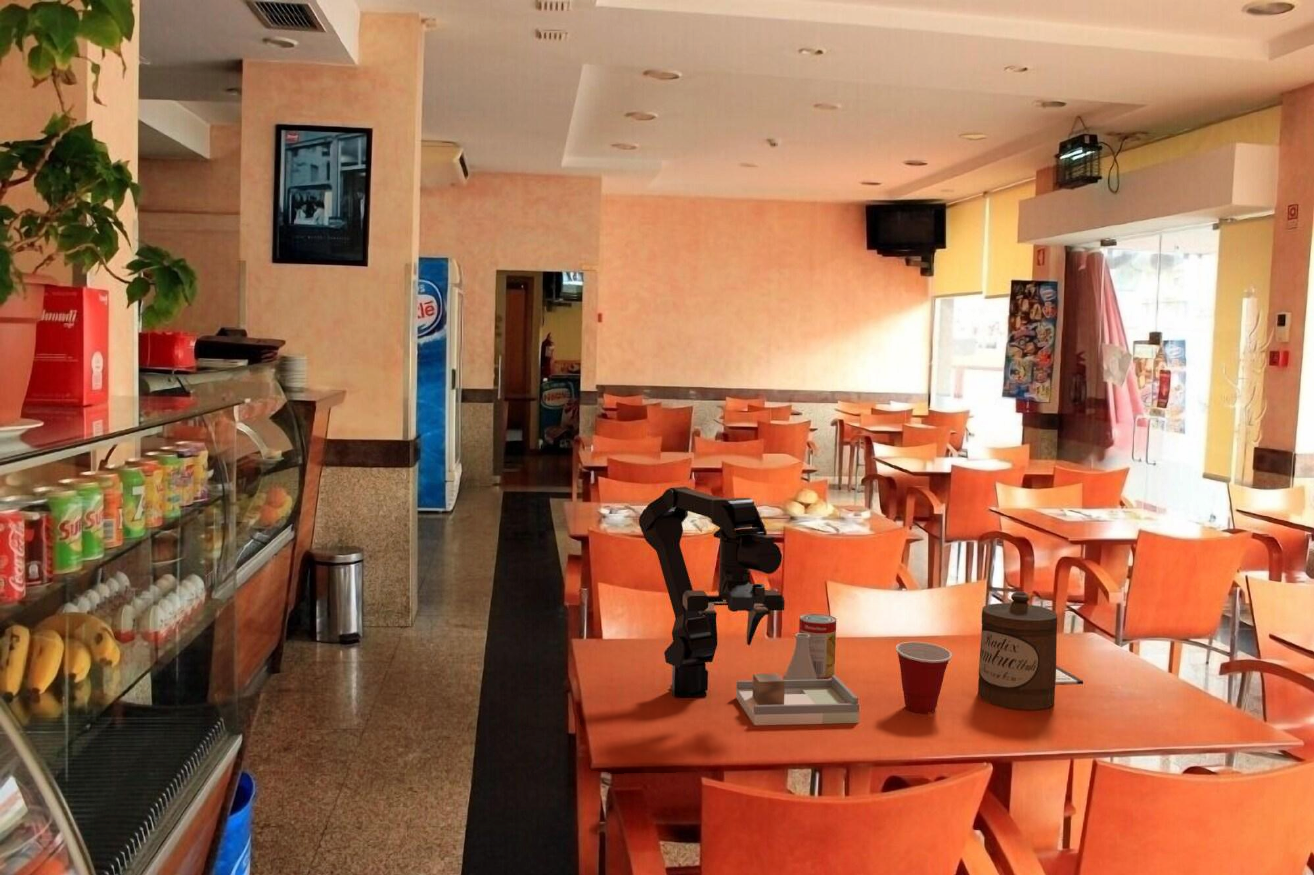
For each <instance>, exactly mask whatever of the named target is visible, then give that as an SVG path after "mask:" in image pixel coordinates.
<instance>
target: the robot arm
mask: <svg viewBox="0 0 1314 875" xmlns="http://www.w3.org/2000/svg"><path fill="white" fill-rule="evenodd" d="M688 513H692V514H695V515H700V516H703V517H706V518H708V519H710V520H711V523H712V524H713V525H714V526H716V527H717V528H719V529H717V530H716V531H715V532H714V533H713V538H717V539H719V540H720V541H719V542H720V543H719V566H718V573H719V574H718V575H719V576H718V589H717V591H718V592H717V593H718V594H717V595H714V594H713V595H708V594H707V592H705V590H693V585H692V581H691V579H690V576H689V572H688V569H687V565H686V561H685V558H684V555H683V552H682V549H681V544H680V543H681V541H682V536H683V533H684V528H683V522H684V521H685V520H686V519H687V517H688V515H689V514H688ZM638 525H639V528H640V530H641V532H642V535H643V538H644V540H645V541H646V543H647V544H649V545H650V547H651V548H652V549H653V550H654V551H655V552H656V555H657V558H658V561H659V565H660V569H661V572H662V575H663V578H664V582H665V586H666V590H667V592H668V593H667V594H668V597H669V600H670V604H671V606H672V610H673V615H674V618H675V619H674V623H673V627H672V630H671V636H672V642H671V643H670V644H669V645H668V647H667V648H666V649H665V651H664V652H663V653H664V654H663V655H664V659H665V663H667V664H668V665H671V668H672V675H671V681H672V682H671V685H670V686H669V688H670V690H671V692H672V694H673V696H674V697H675V698H676V697H677V698H685V697H686V698H689V697H698V698H699V697H707V696H708V695H707V694H708V693H707V691H708V687H709V686H708V684H709V670H708V669H707V668H706V667H707V665H706V663H712V662H713V661H714V657H715V654H716V650H717V647H718V628H717V614H718V613H717V611H716V610H715V606H727V610H728V611H730V612H741V611H743V612H747V613H748V614H747V626H746V645H747V646H751V643H752V641H753V638H754V635H755V634H756V630H757V628H758V626H759V624H760V622H761V620H762V619H763V618H764V617H765V616H766V615H770V614H771V612H772V611H777V612H778V611H784V610H785V597H784V596H783V595H782V594H781V593H780V592H779V591H777V590H776V589H766V587H765V584H764V583H754V584H752V581H751V572H750V571H751V570H752V571H756V572H759V573H763V574H768V575H771V574H774V573H775V572H776V571H777V570H778V569H779V568H780V566H781V564H782V559H783V554H782V551H781V548H780V547H779V545H778V544H776V543H775V537H774V535H773V536H772V535H768V533H767V530H766V528H765V527H766V526H765V524H764V522H763V520H762V518H761V515H760V513H759V510H758V507H757V506H756V504H755V502H754V500H753V499H752V498H750V497H721V496H720V497H719V496H715V495H713V494H709V493H706V492H703V491H702V492H701V491H698V490H695V489H691V488H690V487H688V486H677V487H669V488H667V489H666V490H664V492H663V494H662V495H660V496H659V497H658V498H656V499H655V500H653V501H652V502H650V503H649V504H648V505H647V506H646V507H645V508H644V509H643V510H642V512H641V513H640V515H639V518H638Z"/></svg>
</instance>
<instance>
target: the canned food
mask: <svg viewBox="0 0 1314 875" xmlns="http://www.w3.org/2000/svg"><path fill="white" fill-rule="evenodd" d="M837 621H838V620H837V618H836V617H835V616H832V615H829V614H822V613H807V614H806V613H805V614H802V615H800V616H799V621H798V622H799V623H798V633H805V634H809V635H810V638H809V652H810V656H811V660H812V663H813V667H814V670H815V673H816V676H817V679H826V678H825V677H827V678H831V677H832V675H835V668H836V666H835V664H836V663H835V662H836V645H837V644H836V640H837Z"/></svg>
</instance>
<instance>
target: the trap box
mask: <svg viewBox="0 0 1314 875" xmlns="http://www.w3.org/2000/svg"><path fill="white" fill-rule="evenodd" d="M783 680H784V679H783ZM784 681H785V692H784V704H778V705H758V704H757V702H756V701H755V699H754V698H753V679H752V680H736V688H735V689H736V692H735V693H736V694H735V698H736V700H737V701H738V703H739V705H740V707H741V708H742V709H743V710H744V712H745V714H746V715H747V717H748V718H749V719H750V721H751V723H752V724H753V725H754V726H778V725H780V726H782V725H815V724H816V725H819V724H821V725H823V724H826V725H827V724H858V723H859V719H860V704H859V697H858V696H857V695H856V694H855V693H853V691H852V690H851V689H850V688H849V687H848V686H847V685H846V683H844V682H843V681H842V680H841V679H840V678H839V677H838V676H837V675H836V674H834V675H832V676H831V677H830V678H828V679H827V678H817V679H806V680H784Z"/></svg>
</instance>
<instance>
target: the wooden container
mask: <svg viewBox="0 0 1314 875" xmlns="http://www.w3.org/2000/svg"><path fill="white" fill-rule="evenodd" d="M1010 598H1011V601H1012V602H1011V603H1010V602H1006V603H1005V602H1003V603H990V604H986V605H984V606H982V609H981V632H980V636H981V637H980V649H979V660H978V665H979V666H978V682H977V683H978V687H977V695H978V697H979V698H980V699H982V700H983V701H984V702H986V703H988V702H989V703H988V704H991V705H994V706H997V705H998V706H997V707H1002V708H1005V707H1006V709H1012V710H1022V711H1023V710H1025V711H1028V710H1029V711H1034V710H1035V711H1037V710H1043V709H1047V708H1051V707H1053V705H1055V699H1056V696H1055V695H1056V684H1055V682H1056V666H1057V643H1058V642H1057V641H1058V640H1057V639H1058V638H1057V637H1058V634H1057V633H1058V613H1057V612H1056V611H1054V610H1052V609H1050V608H1046V607H1043V606H1038V605H1035V604H1034V605H1033V604H1029V603H1028V602H1029V600H1030V595H1029V594H1028V593H1026V592H1024V591H1022V590H1021V591H1020V590H1019V591H1016V592H1014V593H1012V594H1011V596H1010Z"/></svg>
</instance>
